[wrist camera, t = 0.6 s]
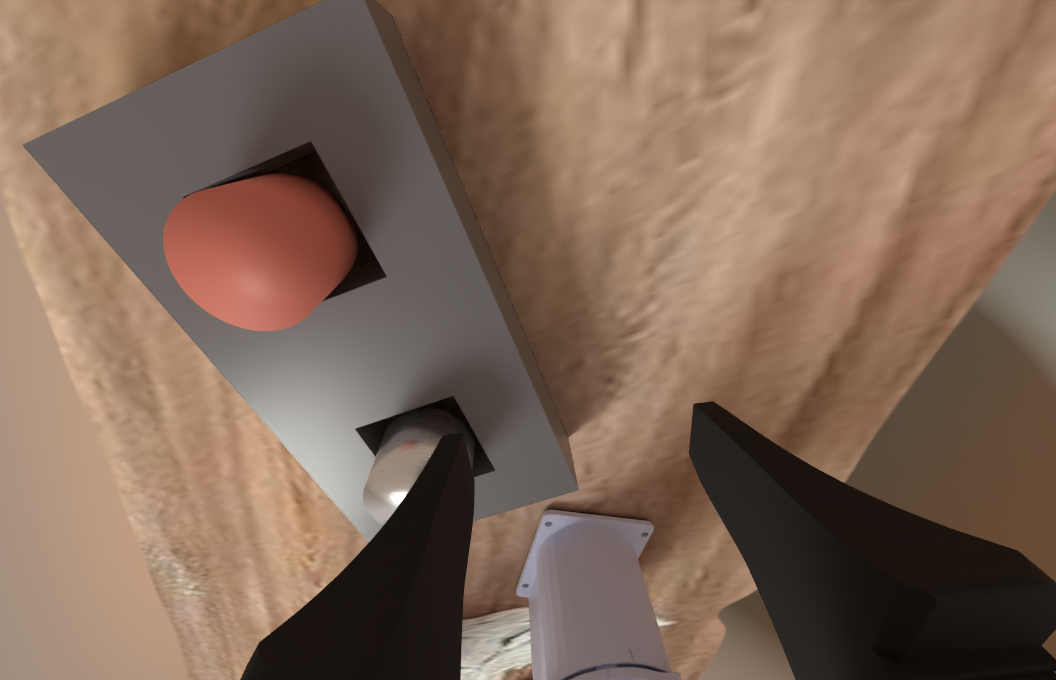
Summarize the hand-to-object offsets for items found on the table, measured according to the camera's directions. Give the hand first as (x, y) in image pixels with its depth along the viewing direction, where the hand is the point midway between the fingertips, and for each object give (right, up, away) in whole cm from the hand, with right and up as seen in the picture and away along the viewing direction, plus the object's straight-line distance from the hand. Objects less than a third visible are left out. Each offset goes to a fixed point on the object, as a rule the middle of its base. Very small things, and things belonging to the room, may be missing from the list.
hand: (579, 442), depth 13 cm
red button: (-10, +7, +3) cm, 13 cm away
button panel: (-9, +4, +8) cm, 13 cm away
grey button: (-6, -2, +8) cm, 10 cm away
